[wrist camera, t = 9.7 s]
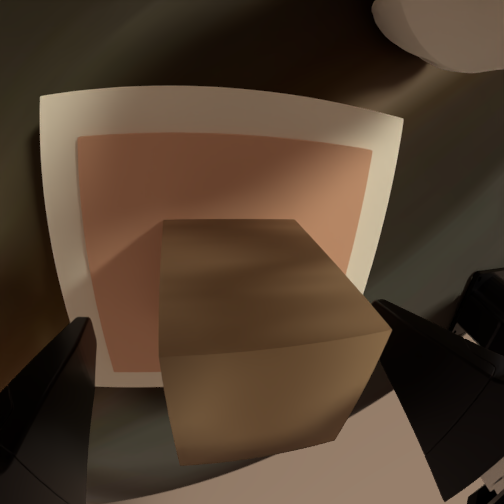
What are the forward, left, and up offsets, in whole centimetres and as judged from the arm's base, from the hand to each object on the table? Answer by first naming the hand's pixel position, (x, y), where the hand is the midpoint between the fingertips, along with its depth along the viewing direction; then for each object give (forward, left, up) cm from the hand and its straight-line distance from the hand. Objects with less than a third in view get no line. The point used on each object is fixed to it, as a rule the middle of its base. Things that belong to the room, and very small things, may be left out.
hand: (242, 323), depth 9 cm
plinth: (0, 0, -6) cm, 6 cm away
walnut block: (0, 0, -3) cm, 3 cm away
